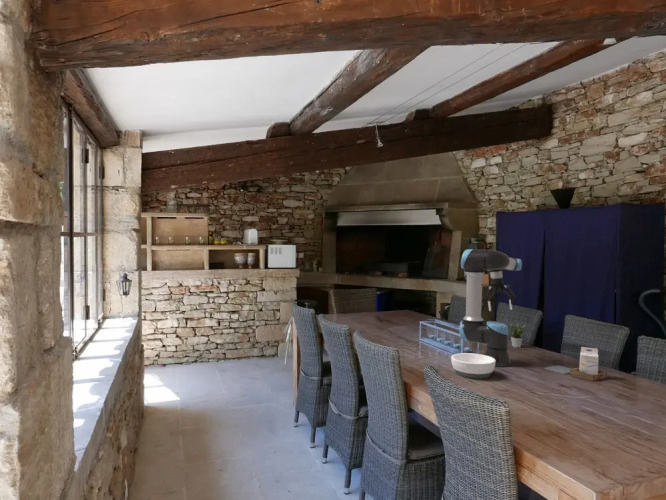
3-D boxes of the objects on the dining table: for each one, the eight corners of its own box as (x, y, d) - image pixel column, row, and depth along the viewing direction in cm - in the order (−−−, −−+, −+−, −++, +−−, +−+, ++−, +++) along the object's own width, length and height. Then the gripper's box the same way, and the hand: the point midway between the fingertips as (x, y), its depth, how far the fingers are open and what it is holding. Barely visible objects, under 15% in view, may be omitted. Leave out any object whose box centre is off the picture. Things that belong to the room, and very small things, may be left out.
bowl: (497, 381, 244) (498, 365, 244) (451, 378, 249) (451, 362, 248) (492, 369, 266) (492, 354, 266) (450, 366, 271) (450, 351, 270)
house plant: (501, 347, 320) (502, 322, 320) (504, 343, 333) (505, 319, 332) (524, 350, 314) (525, 324, 313) (527, 345, 326) (527, 321, 325)
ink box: (579, 376, 255) (579, 348, 255) (579, 374, 260) (580, 346, 259) (597, 379, 251) (598, 350, 251) (597, 376, 256) (598, 348, 255)
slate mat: (564, 374, 259) (564, 373, 259) (544, 368, 269) (544, 367, 269) (578, 371, 265) (578, 370, 265) (558, 366, 275) (558, 365, 275)
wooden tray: (592, 381, 247) (592, 375, 247) (570, 374, 258) (570, 369, 258) (607, 378, 253) (607, 372, 253) (584, 371, 264) (584, 366, 264)
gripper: (517, 276, 322) (521, 308, 320) (479, 279, 335) (483, 311, 333) (515, 276, 316) (519, 309, 314) (476, 280, 329) (480, 311, 327)
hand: (500, 310), depth 323 cm, fingers open, 13 cm apart
